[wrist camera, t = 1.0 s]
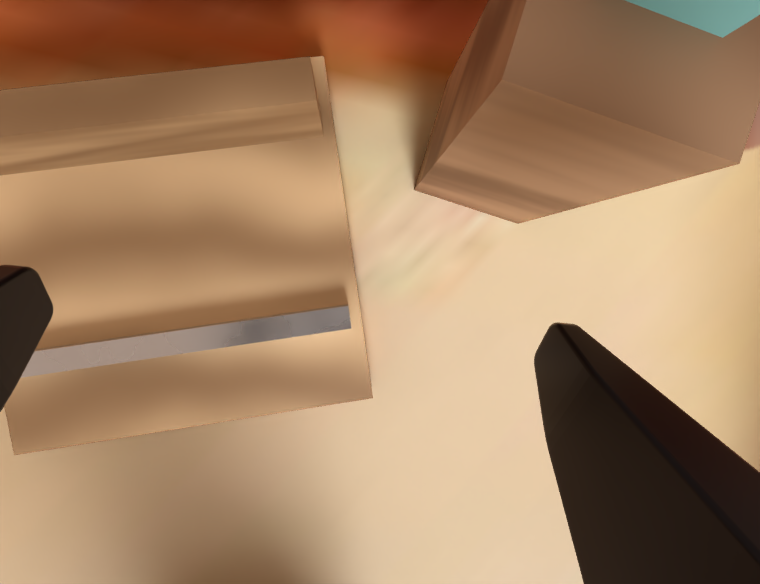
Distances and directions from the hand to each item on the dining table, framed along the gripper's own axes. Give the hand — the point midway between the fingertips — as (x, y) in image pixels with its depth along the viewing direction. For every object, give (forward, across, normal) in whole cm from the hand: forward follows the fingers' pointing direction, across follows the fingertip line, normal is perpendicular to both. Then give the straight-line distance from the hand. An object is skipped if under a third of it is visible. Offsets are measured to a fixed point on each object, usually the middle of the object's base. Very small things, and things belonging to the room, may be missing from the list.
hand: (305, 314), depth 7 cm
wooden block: (+15, -7, +2) cm, 16 cm away
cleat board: (+11, +7, +7) cm, 15 cm away
